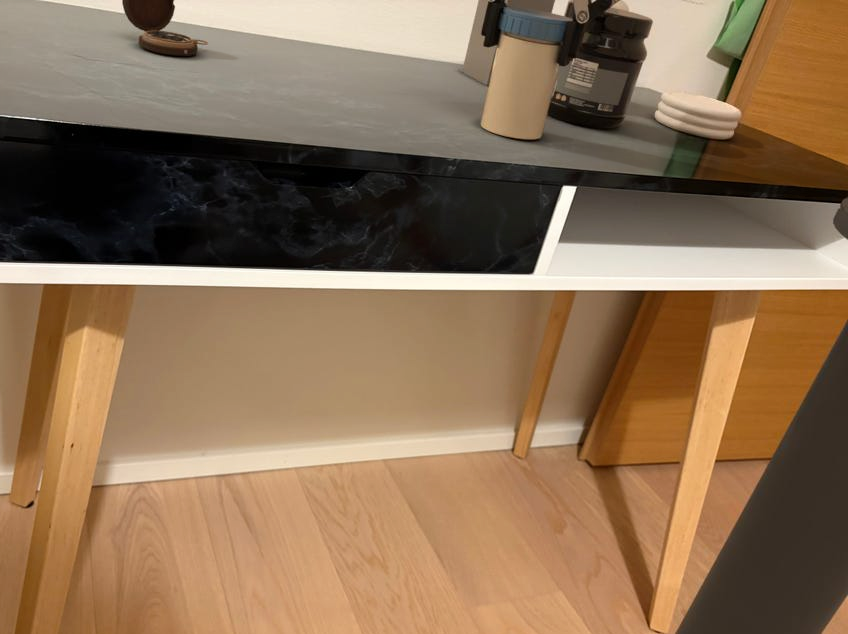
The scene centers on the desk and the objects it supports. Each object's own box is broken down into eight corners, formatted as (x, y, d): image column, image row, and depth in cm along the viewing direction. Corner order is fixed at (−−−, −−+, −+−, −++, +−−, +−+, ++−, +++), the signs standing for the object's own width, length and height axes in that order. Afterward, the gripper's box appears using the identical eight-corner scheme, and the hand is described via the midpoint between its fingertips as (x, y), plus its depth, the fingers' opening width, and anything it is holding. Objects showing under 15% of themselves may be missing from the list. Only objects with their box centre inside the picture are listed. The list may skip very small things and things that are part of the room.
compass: (160, 58, 82) (164, -19, 79) (118, 38, 87) (120, -35, 83) (223, 57, 88) (229, -14, 84) (180, 39, 92) (184, -30, 88)
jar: (553, 140, 82) (582, 30, 76) (500, 138, 79) (527, 23, 74) (520, 123, 87) (545, 18, 81) (469, 120, 84) (491, 12, 79)
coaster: (745, 139, 103) (757, 112, 101) (705, 142, 97) (717, 113, 95) (679, 116, 109) (689, 89, 107) (638, 116, 103) (647, 89, 101)
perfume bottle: (504, 76, 110) (541, -69, 101) (530, 90, 105) (572, -62, 96) (461, 72, 108) (496, -79, 99) (486, 85, 102) (525, -72, 93)
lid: (512, 25, 82) (516, 5, 81) (577, 40, 80) (582, 19, 79) (487, 28, 77) (492, 7, 76) (556, 44, 74) (562, 22, 73)
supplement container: (600, 112, 101) (633, 10, 95) (636, 136, 92) (675, 26, 86) (522, 99, 99) (551, -5, 93) (552, 123, 90) (586, 9, 84)
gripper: (685, -136, 71) (618, 73, 80) (498, -168, 75) (455, 32, 84) (678, -145, 64) (607, 81, 73) (476, -181, 69) (431, 37, 78)
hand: (526, 53), depth 79 cm, fingers closed on lid, 6 cm apart
